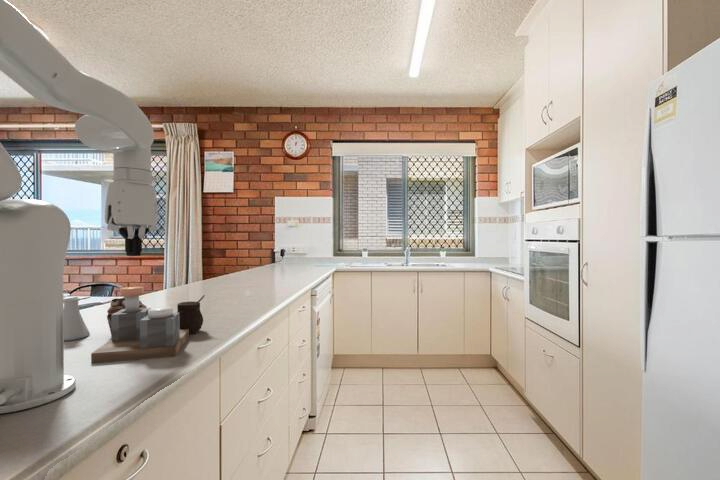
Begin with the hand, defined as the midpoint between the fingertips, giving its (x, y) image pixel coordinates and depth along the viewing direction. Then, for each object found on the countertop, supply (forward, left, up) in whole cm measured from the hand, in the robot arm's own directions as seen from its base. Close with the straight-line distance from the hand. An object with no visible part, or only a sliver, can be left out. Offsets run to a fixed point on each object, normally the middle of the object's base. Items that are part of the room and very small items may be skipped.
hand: (133, 255), depth 85 cm
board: (-4, -4, -21) cm, 22 cm away
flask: (+11, +17, -22) cm, 30 cm away
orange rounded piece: (0, 0, -14) cm, 14 cm away
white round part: (-8, -8, -18) cm, 21 cm away
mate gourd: (+9, -11, -22) cm, 25 cm away
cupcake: (+11, +4, -22) cm, 25 cm away
